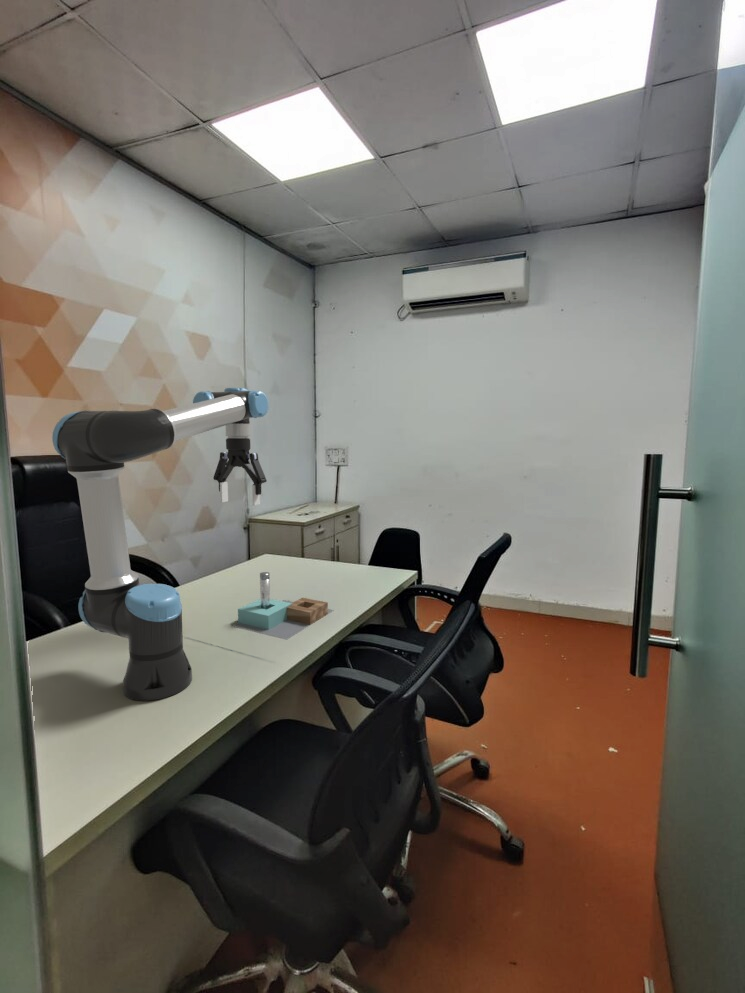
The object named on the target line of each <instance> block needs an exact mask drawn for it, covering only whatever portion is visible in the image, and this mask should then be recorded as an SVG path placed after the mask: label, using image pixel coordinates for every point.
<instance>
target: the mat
mask: <svg viewBox="0 0 745 993" xmlns="http://www.w3.org/2000/svg"><path fill="white" fill-rule="evenodd" d="M282 601H283V602H288V603H293V602H294V601H290V600H287V599H286V600H285V599H284V600H282ZM334 611H335V610H334V609H329V608H328V614H327V615H329V614H331V613H332V612H334ZM323 618H324V617H322V618H321V619H323ZM315 623H316V622H314V623H313V624H315ZM309 626H311V625H309V624H304V623H300V622H295V621H291V620H285V621H284V622H282V623H280V624H278V625H276V626H275V627H273V628H271V629H269V630H267V629H263V628H259V627H255V626H251V625H247V624H243V623H238V622H236V623H234V624H233V625H231V627H233V628H238V629H242V630H246V631H250V632H255V633H258V634H262V635H266V636H270V637H275V638H278V639H283V640H289V639H291V638H292V637H294V636H295V635H297V634H298V633H300V632H302V631H303V630H306V628H308V627H309Z"/></svg>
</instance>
